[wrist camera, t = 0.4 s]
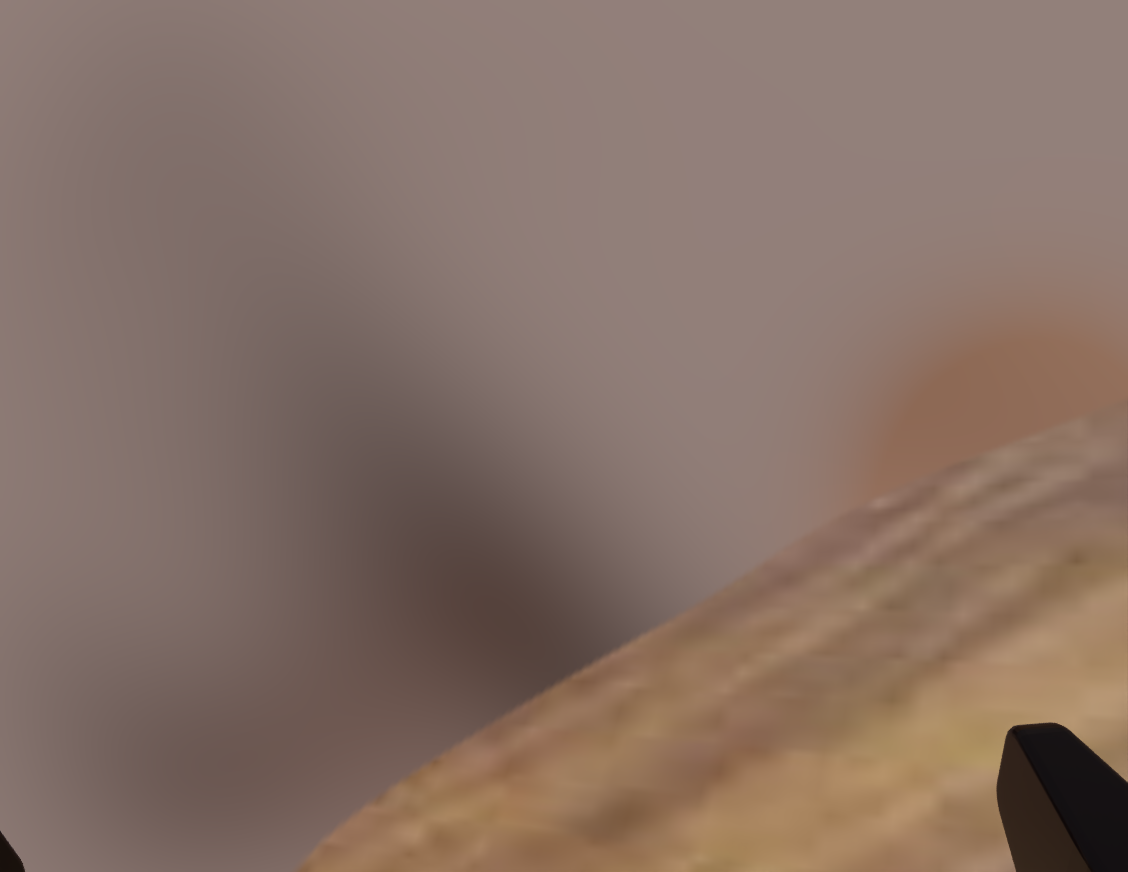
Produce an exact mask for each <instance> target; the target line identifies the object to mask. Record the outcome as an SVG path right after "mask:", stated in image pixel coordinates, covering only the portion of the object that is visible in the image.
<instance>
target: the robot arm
mask: <svg viewBox="0 0 1128 872" xmlns="http://www.w3.org/2000/svg"><path fill="white" fill-rule="evenodd" d="M997 802H998V807H999V812H1000V816H1001V819H1002V823H1003V827H1004V830H1005V834H1006V837H1007V841H1008V844H1009V848H1010V851H1011V855H1012V858H1013V862H1014V865H1015V869H1016V872H1128V782H1127V781H1126V780H1124V779H1123V778H1122V777H1121V776H1120V775H1119V774H1118V773H1117V772H1116V771H1114V770H1113V769H1112V768H1111V767H1110V766H1109V765H1108V764H1107V763H1105V762H1104V761H1103V760H1102V759H1101V758H1100V757H1099V756H1098V755H1097V754H1095V753H1094V752H1093V751H1092V750H1091V749H1090V748H1089V747H1088V746H1087V745H1085V744H1084V743H1083V742H1082V741H1081V740H1080V739H1079V738H1078V737H1077V736H1075V735H1074V734H1073V733H1072V732H1071V731H1070V730H1068V729H1067V728H1066V727H1064V726H1062V725H1060V724H1057V723H1038V724H1026V725H1016V726H1013V727H1012V728H1011V729H1010V730H1009V731H1008V733H1007V735H1006V739H1005V744H1004V749H1003V754H1002V759H1001V765H1000V770H999V775H998V780H997ZM0 872H25V869H24V866H23V863H22V861H21V859H20V858H19V856H18V855H17V854H16V852H15V851H14V849H13V848H12V847H11V845H10V844H9V842H8V841H7V840H6V838H5V837H4V835H3V834H2V833H1V831H0Z"/></svg>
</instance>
